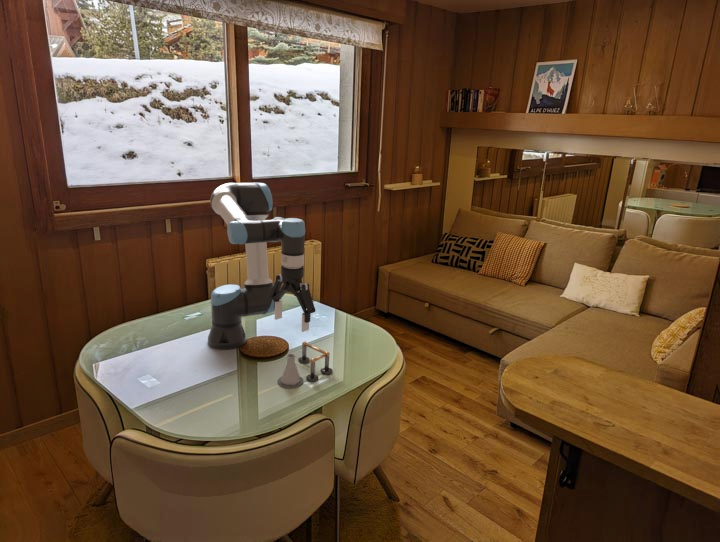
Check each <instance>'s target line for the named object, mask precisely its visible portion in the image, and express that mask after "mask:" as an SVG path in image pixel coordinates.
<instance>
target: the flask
mask: <svg viewBox="0 0 720 542" xmlns="http://www.w3.org/2000/svg"><path fill="white" fill-rule="evenodd" d="M285 356H286V365H285V367H284V369H283V372H282V375H281V376H280V377H281V383H283V384H286V385H296V384H297V383H299V382H300V377H301V376H300V374H299V371H298V368H297V366H296V360H295V358H296V354H295V353H287V354H286V355H285Z"/></svg>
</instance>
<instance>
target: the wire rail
mask: <svg viewBox="0 0 720 542" xmlns="http://www.w3.org/2000/svg"><path fill="white" fill-rule="evenodd" d="M301 344H302V348H301V350H302V351H301V357H299V358H298V363H299V364H308V363H310V366H309V367H310V368H309V369H310V370H309V372H310V373H309V374H308V375H307V376H305V379H306V381H307V382H309V383H316V382H318V380H319V376H318V375H317V374H315V373H316V361H319V360H321V359H323V358H324V367H322V368H320V373H321V374H322V375H332V374H333V369H332V368H331V367H330V354H331V353H330V352H329V351H326V350H325V351H324V350H322V349H321V348H318V347H316V346H313V345H312V344H309V343H308V342H307V341H306V340H305V341H304V340H303V342H301ZM307 347H308V348H310V349H312V350H314V351H316V352H319V353H321V355H319V356H317V357H312V358H311V359H310V357H308V356H307Z"/></svg>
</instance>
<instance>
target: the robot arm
mask: <svg viewBox="0 0 720 542" xmlns="http://www.w3.org/2000/svg"><path fill="white" fill-rule="evenodd" d="M209 201H210V202H209V203H210V207H211V208H212V210H213V211H214V212H215V213H216V214H217V215H218V216H221V218H222V219H223V221H224V222H225V223H226V225H227V229H226V231H227V237H228V241H229V243H230V244H232V245H245V259H246V260H245V262H246V271H247V272H246V273H247V279H246V280H245V282H244V283H243V284H244V287H241V286H240V285H238V284H234V283H233V284H224V285H219V286H217V287H216V288H214V289H213V290H212V292H211V294H210V307H211V309H210V310H211V327H210V330H209V334H208V336H207V344H208V346H210V347H211V348H213V349H217V350H232V349H237V348H239V347H242V346H243V345H244V344H246V342H247V334H246V332H245V329H244V326H243V323H242V318H244V317H251V316H258V315H260V316H261V315H267V314H272V313H274V320H276V321H277V320H279V319H282V318H283V297H284V295H285V294H286V293H287V292H288V293H291V294H293V296H294V297H295V298H296V299H297V301H298V304H299V305H300V308H301V310H302V313H301V332H302V333H303V332H307V331H309V330H310V323H311V314H314V313H315V312H317V311H316V307H315V304H314V303H315V302H314V300H313V298H312V293H311V290H310V284H309V283H308V282H307V283H303V280H302V279H303V278H304V275H305V266H304V265H305V244H306V243H305V242H306V225H305V223H306V222H305V221H304V220H303V219H300V218H297V217H288V218H285V217H281V216H276V217H273V218H272V219H267V218H268V217H269V212H271V211H272V210H273V205H274V203H273V201H274V200H273V195H272V192H271V189H270V187H269V185H268V184H266V183H265V182H257V181H256V182H255V181H254V182H227V183H224V184H221V185H219V186H218V187H216V188H215V189H214V190H213V191H212V193H211V196H210V199H209ZM277 242H280V243H281V246H280V247H281V249H280V250H281V251H280V252H281V257H280V258H281V260H280V262H281V264H280V265H281V266H280V274H277V275H276V276H275V281H273V280H272V279H271V278H270V277H269V276H270V275H269V263H268V262H269V260H268V259H269V258H268V250H267V249H268V246H267V243H277ZM242 344H243V345H242ZM241 345H242V346H241Z"/></svg>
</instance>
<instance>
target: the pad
mask: <svg viewBox="0 0 720 542" xmlns="http://www.w3.org/2000/svg"><path fill="white" fill-rule="evenodd" d="M281 377H282V376H279V378H278V379H277V385H278V386H279V387H280V388H284V389H297V388H299V387H301V386H302V385H303V383H304V379H303V378H302V377H301V376H300V382H299V383H297V384H296V385H286V384H283V383H281Z"/></svg>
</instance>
